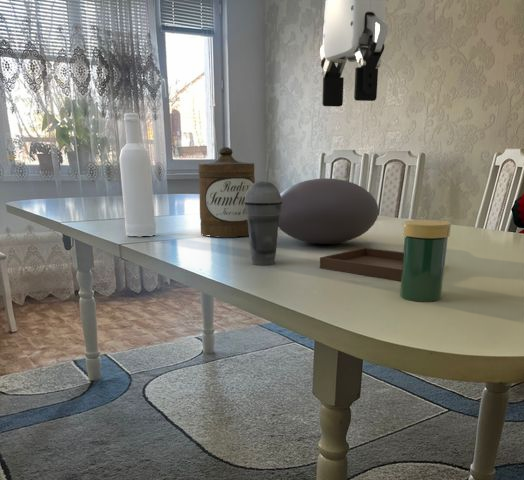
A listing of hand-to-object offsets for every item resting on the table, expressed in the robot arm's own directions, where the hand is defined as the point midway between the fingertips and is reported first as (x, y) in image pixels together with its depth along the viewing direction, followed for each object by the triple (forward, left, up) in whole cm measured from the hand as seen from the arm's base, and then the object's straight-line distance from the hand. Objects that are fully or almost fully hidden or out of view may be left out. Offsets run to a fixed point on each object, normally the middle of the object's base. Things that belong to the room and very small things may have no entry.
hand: (347, 103), depth 79 cm
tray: (+3, -18, -27) cm, 33 cm away
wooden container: (+58, -31, -27) cm, 71 cm away
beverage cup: (+23, -7, -27) cm, 37 cm away
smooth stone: (+29, -35, -27) cm, 53 cm away
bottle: (+74, -14, -27) cm, 80 cm away
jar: (-13, -3, -27) cm, 30 cm away
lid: (-13, -3, -17) cm, 21 cm away
